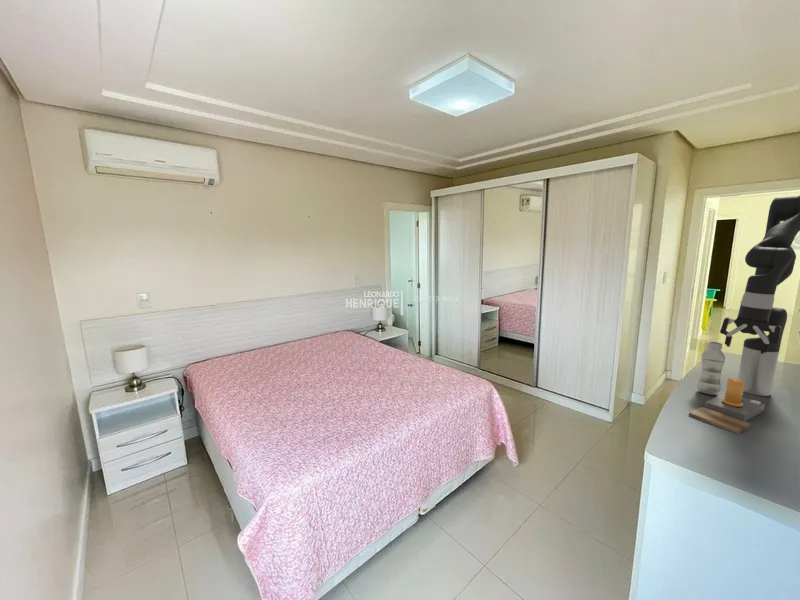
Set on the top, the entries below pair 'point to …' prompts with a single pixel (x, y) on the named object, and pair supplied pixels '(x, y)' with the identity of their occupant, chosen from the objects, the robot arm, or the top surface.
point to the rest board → (720, 420)
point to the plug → (734, 393)
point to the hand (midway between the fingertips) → (744, 349)
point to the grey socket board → (741, 413)
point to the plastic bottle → (711, 369)
